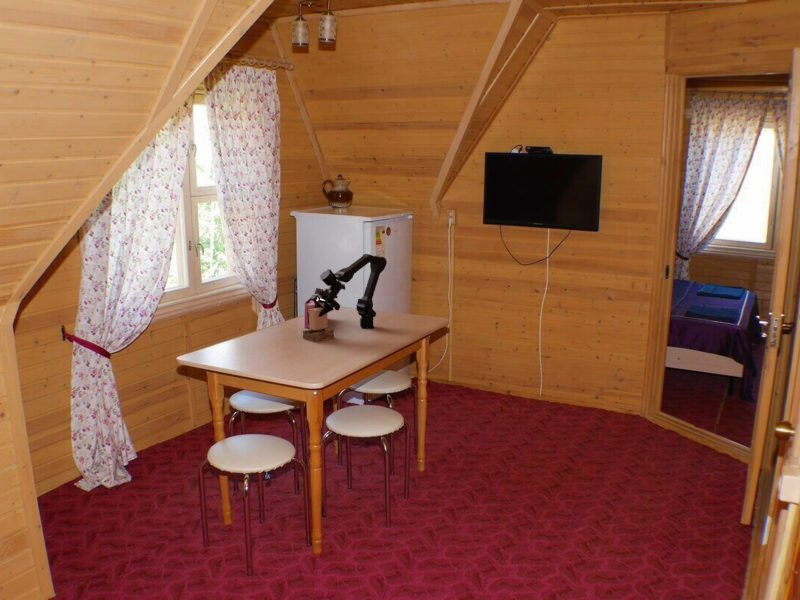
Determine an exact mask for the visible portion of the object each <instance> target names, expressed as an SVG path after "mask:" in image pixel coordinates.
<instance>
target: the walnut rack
mask: <svg viewBox="0 0 800 600" xmlns="http://www.w3.org/2000/svg"><path fill="white" fill-rule="evenodd" d="M334 332H335V331H334V329H327V328H323V329H318V330H312V329H310V328H309V329H306V330H302V339H303V338H304V339H303V340H307V341H309V342H311V343H312V342H313V343H315V342H320V341H323V340H329V339H333V338H335V335H334Z"/></svg>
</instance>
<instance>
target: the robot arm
mask: <svg viewBox="0 0 800 600" xmlns="http://www.w3.org/2000/svg"><path fill="white" fill-rule="evenodd" d="M387 262H388V261H387V259H386V257H384V256H379V255H372V254H369V253H364V254H362V256H361V257H360V258H358V259H357V260H355V261H354V262H353V263H352V264H350V265H349V266H347V267H344V268H342V269H341V268H340V269H339V270H337V271H336V272H333V271H332V269H330V268H327V269H326V270H325V271H323V272H322V273H320V275H319V278H320V280H321V281H322V283H324V284H325V285H326V286H327V287H328V288H325V287H324V288H323V289H322V288H319V287H316V288H315V290H314V294H311V297H310V298H309V299H311V300H312V301H313V302H314V303H315V307H314V308H319V307H323V306H322V304H324V307H323V308H322V310H321V312H320V313H319V315H318V316H319V317H321V316H323V315H325V314H326V313H327V314H329V313H330V312H332V311H334V310H335V311H340V309H341V304H340V303H339V302H338V301H337V300H335V299H338V298H339V297H338V295H339V293H340V291H341V290H344V291H345V290H346V283H350V281H351V280H352V279H353V278H354V275H355V274H356V273H358V272H359V271H360V270H361V269H362V268H364V267H365V266H367V265H368V264H370V265H369V267H370V274H369V277H368V279H367V282H366V285H365V286H366V287H365V289H364V293H363V296H362V297H361V298H358V299H357V303H356V304H355V306H356V311H357V313H358V315H359V316H360V318H359V326H360V328H361V329H364V328H365V329H375V326H374V318H375V317H376V316H377V312H376V311H375V310H374V308H373V307H374V303H373V298H374V294H375V291H376V289H377V285H378V281H379V279H380V275H381V273H382V272H383V271H385V269H386V267H387ZM344 283H345V284H344ZM317 295H320V297H321V298H322V299H321V298H320V297H319V296H317ZM365 329H364V330H365Z"/></svg>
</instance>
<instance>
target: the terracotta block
mask: <svg viewBox="0 0 800 600" xmlns="http://www.w3.org/2000/svg"><path fill="white" fill-rule="evenodd" d="M322 308H323V307H319V308H314V309H309V328H308V329H309V330H310V329H312V330H318V329H323V328H325V329H327V328H328V313H326V314H325V315H323V316H321V317H319V316H318V315H319V313H320V312H321V310H322Z"/></svg>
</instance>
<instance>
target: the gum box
mask: <svg viewBox="0 0 800 600" xmlns="http://www.w3.org/2000/svg"><path fill="white" fill-rule="evenodd" d="M316 295H317V296H319V297H320V295H318V294H316ZM320 298H321V297H320ZM321 299H322V298H321ZM322 306H323V307H324V304H322ZM314 307H315V303H314V302H313V301H312V300H311V299H310V298H308V299H307V300H306V301H305V302H304V328H306V329H310V328H309V309H314Z"/></svg>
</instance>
